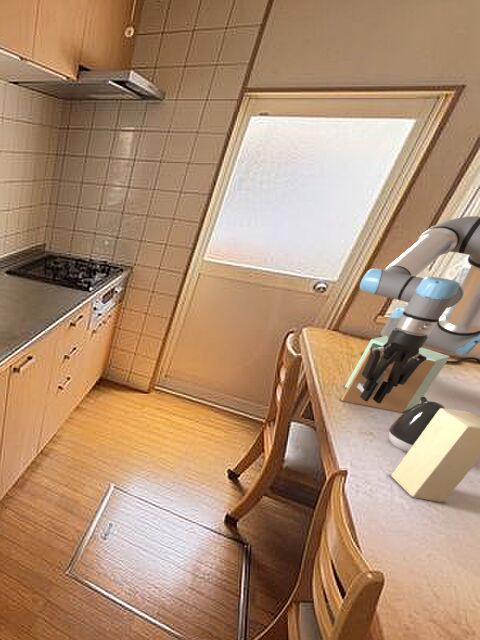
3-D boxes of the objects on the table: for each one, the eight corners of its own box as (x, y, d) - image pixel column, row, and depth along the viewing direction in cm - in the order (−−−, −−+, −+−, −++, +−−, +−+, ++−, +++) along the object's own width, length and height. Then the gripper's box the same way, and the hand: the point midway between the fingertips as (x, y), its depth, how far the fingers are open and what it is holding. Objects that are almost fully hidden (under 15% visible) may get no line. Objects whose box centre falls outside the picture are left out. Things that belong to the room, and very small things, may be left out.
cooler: (402, 411, 138) (436, 360, 130) (344, 387, 152) (371, 339, 143) (416, 406, 142) (450, 356, 134) (358, 382, 156) (385, 335, 147)
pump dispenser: (416, 441, 122) (447, 397, 115) (439, 463, 114) (473, 417, 107) (375, 433, 125) (402, 389, 118) (393, 453, 116) (424, 407, 109)
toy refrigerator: (447, 504, 99) (506, 432, 90) (412, 498, 100) (467, 426, 91) (422, 481, 106) (474, 412, 97) (390, 475, 107) (438, 407, 98)
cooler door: (415, 423, 132) (450, 371, 123) (351, 410, 136) (381, 359, 127) (401, 411, 138) (434, 360, 130) (341, 399, 143) (368, 349, 134)
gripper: (387, 331, 120) (347, 401, 131) (453, 340, 117) (407, 411, 128) (372, 322, 126) (335, 389, 137) (434, 331, 123) (391, 399, 134)
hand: (370, 400), depth 132 cm, fingers open, 3 cm apart
